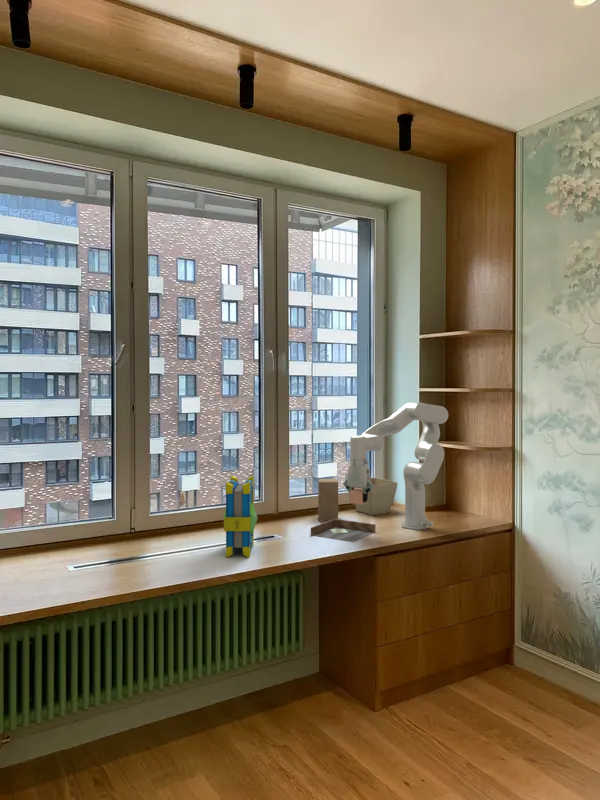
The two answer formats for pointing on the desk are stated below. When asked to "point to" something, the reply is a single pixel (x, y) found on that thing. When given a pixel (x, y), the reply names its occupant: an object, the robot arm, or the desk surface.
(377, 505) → the flower pot
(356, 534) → the tray
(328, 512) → the wooden block
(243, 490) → the decorative book
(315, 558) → the desk surface
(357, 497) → the cube
